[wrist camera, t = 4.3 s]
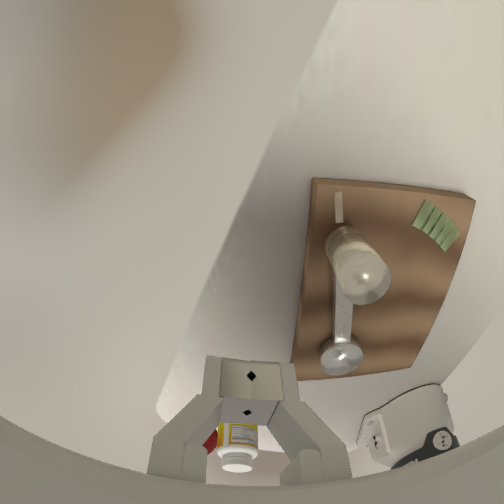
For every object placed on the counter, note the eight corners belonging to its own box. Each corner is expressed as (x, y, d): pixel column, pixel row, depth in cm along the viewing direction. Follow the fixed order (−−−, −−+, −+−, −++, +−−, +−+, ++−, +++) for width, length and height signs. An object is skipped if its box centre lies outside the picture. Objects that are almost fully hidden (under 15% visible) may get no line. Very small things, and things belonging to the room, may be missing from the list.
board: (405, 357, 33) (411, 368, 31) (289, 368, 33) (291, 382, 31) (464, 193, 22) (477, 201, 20) (312, 177, 22) (318, 184, 20)
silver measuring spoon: (357, 358, 29) (371, 403, 23) (319, 366, 29) (328, 412, 24) (367, 217, 21) (402, 256, 15) (313, 224, 21) (333, 267, 16)
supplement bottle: (230, 418, 39) (228, 475, 30) (212, 402, 37) (207, 464, 28) (263, 412, 38) (265, 471, 29) (247, 395, 36) (247, 460, 27)
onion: (205, 407, 38) (200, 453, 31) (226, 422, 40) (224, 464, 33) (176, 413, 39) (169, 455, 32) (198, 427, 41) (194, 467, 34)
